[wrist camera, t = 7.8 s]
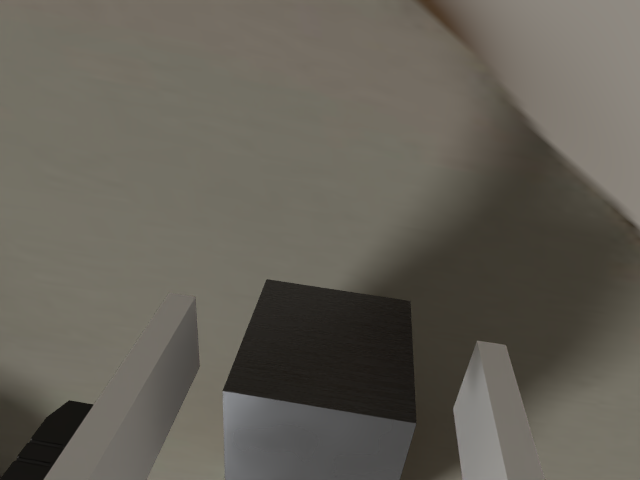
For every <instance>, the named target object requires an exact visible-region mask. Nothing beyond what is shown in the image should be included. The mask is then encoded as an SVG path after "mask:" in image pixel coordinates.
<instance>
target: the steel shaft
mask: <svg viewBox="0 0 640 480" xmlns="http://www.w3.org/2000/svg"><path fill="white" fill-rule="evenodd" d="M223 421H224V459H225V480H400V477H401V474H402V470H403V467H404V464H405V460H406V457H407V453H408V450H409V447H410V443H411V440H412V437H413V433H414V430H415V427H416V406H415V386H414V366H413V346H412V326H411V306H410V301H406V300H399V299H393V298H386V297H380V296H373V295H366V294H360V293H353V292H347V291H340V290H334V289H327V288H320V287H314V286H307V285H301V284H294V283H287V282H281V281H274V280H268V279H267V280H266V282H265V285H264V287H263V290H262V292H261V295H260V297H259V300H258V303H257V305H256V308H255V310H254V313H253V315H252V318H251V320H250V323H249V325H248V328H247V330H246V333H245V336H244V338H243V341H242V343H241V346H240V348H239V351H238V353H237V356H236V358H235V361H234V363H233V366H232V369H231V371H230V374H229V376H228V379H227V381H226V384H225V386H224V389H223Z"/></svg>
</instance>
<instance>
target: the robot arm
mask: <svg viewBox="0 0 640 480" xmlns="http://www.w3.org/2000/svg"><path fill="white" fill-rule="evenodd" d="M199 367H200V363H199V346H198V330H197V313H196V297H195V296H189V295H182V294H176V293H168V295H167V296H166V298H165V299H164V301H163V302H162V304H161V305H160V307H159V308H158V310H157V311H156V313H155V314H154V316H153V317H152V319H151V320H150V322H149V323H148V325H147V326H146V328H145V329H144V331H143V332H142V334H141V335H140V337H139V338H138V340H137V341H136V343H135V344H134V346H133V347H132V349H131V350H130V351H129V353H128V354H127V356H126V357H125V359H124V360H123V362H122V363H121V365H120V366H119V368H118V369H117V371H116V372H115V374H114V375H113V377H112V378H111V380H110V381H109V383H108V384H107V386H106V387H105V389H104V390H103V392H102V393H101V395H100V396H99V398H98V399H97V401H96V402H95V404H94V405H93V404H87V403H81V402H75V401H70V400H69V401H68V402H66V403H65V404H64V405H63V406H61V407H60V408H59V409H57V410H56V411H55V412H53V413H52V414H51V415H49V416H48V417H47V418H46V419H45V420H44V422H43V423H42V424H41V426H40V427H39V428H38V430H37V431H36V432H35V434H34V435H33V436H32V438H31V441H30V443H27V444H26V446H25V447H24V448H23V450H22V451H21V452H20V454H19V455H18V456H17V460H16V461H14V462H13V463H12V464H11V466H10V467H9V468H8V470H7V471H6V472H5V473H4V475H3V476H2V477H1V479H0V480H146V479H147V477H148V475H149V473H150V471H151V469H152V467H153V464H154V462H155V460H156V458H157V456H158V454H159V452H160V450H161V448H162V445H163V443H164V441H165V439H166V437H167V435H168V433H169V431H170V429H171V426H172V424H173V422H174V420H175V418H176V416H177V414H178V412H179V409H180V407H181V405H182V403H183V401H184V399H185V397H186V395H187V393H188V390H189V388H190V386H191V384H192V382H193V380H194V378H195V376H196V374H197V371H198V369H199ZM453 411H454V419H455V426H456V434H457V441H458V449H459V456H460V464H461V471H462V479H463V480H545V477H544V474H543V470H542V467H541V463H540V460H539V457H538V453H537V450H536V446H535V443H534V439H533V436H532V433H531V429H530V426H529V422H528V419H527V415H526V412H525V409H524V405H523V402H522V398H521V395H520V391H519V388H518V385H517V381H516V378H515V374H514V371H513V367H512V364H511V361H510V357H509V354H508V350H507V347H506V345H503V344H497V343H490V342H484V341H477V342H476V345H475V348H474V351H473V354H472V356H471V359H470V362H469V365H468V368H467V371H466V374H465V376H464V379H463V382H462V385H461V388H460V391H459V394H458V396H457V399H456V402H455V405H454V408H453Z"/></svg>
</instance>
